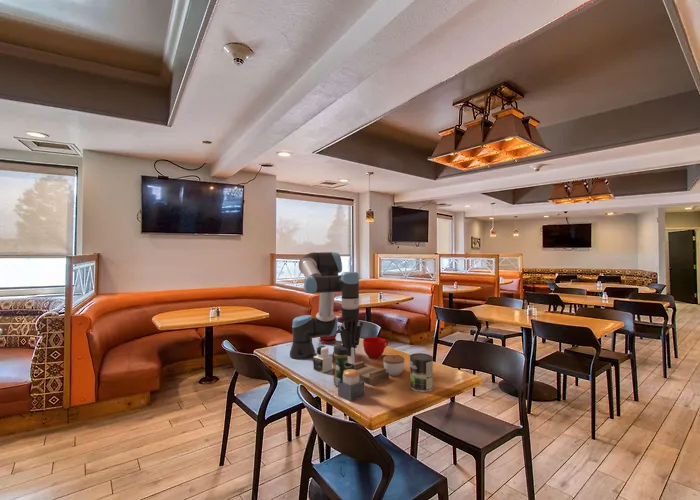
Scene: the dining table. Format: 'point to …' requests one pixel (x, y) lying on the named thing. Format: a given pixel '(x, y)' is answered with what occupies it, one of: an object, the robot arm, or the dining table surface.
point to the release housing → (351, 390)
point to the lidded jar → (393, 364)
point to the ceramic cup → (374, 347)
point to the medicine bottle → (322, 360)
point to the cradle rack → (371, 374)
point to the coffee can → (421, 372)
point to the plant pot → (328, 339)
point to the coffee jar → (341, 363)
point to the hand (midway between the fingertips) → (351, 363)
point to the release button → (351, 377)
